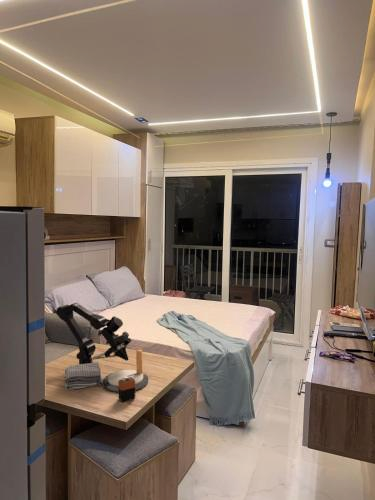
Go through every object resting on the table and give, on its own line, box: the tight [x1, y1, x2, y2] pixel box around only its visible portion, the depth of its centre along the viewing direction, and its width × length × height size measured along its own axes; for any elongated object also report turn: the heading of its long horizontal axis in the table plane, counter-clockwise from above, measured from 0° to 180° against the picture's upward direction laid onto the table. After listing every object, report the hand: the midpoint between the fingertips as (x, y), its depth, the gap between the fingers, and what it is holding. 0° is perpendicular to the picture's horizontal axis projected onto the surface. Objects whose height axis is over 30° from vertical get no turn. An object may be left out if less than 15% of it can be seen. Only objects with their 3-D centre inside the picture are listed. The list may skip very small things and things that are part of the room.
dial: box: [108, 349, 143, 387], centre depth 185 cm, size 18×18×13 cm
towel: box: [64, 361, 103, 391], centre depth 185 cm, size 15×18×8 cm
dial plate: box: [102, 371, 149, 394], centre depth 185 cm, size 23×23×2 cm
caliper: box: [92, 351, 115, 360], centre depth 221 cm, size 20×1×6 cm, turn 120°
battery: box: [118, 377, 136, 403], centre depth 168 cm, size 4×7×10 cm, turn 123°
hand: (127, 360), depth 192 cm, fingers closed
